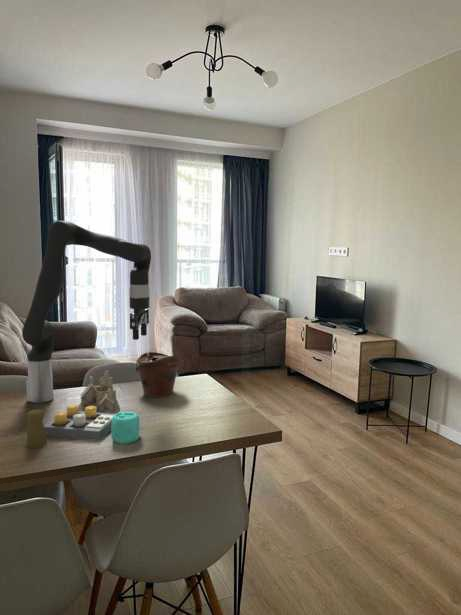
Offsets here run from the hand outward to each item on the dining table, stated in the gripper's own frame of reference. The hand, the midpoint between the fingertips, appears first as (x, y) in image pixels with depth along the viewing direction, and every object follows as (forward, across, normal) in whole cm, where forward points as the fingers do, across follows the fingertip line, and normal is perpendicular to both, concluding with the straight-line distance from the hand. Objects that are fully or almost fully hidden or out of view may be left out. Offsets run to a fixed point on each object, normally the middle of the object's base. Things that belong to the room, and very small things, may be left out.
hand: (139, 337), depth 175 cm
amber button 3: (+25, +20, -11) cm, 34 cm away
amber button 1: (+25, +28, -18) cm, 42 cm away
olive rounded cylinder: (+29, +38, -20) cm, 52 cm away
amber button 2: (+25, +20, -18) cm, 37 cm away
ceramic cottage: (+29, +6, -15) cm, 33 cm away
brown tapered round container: (+29, -20, 0) cm, 35 cm away
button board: (+28, +24, -12) cm, 39 cm away
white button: (+25, +28, -11) cm, 39 cm away
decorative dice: (+29, +29, +6) cm, 41 cm away
